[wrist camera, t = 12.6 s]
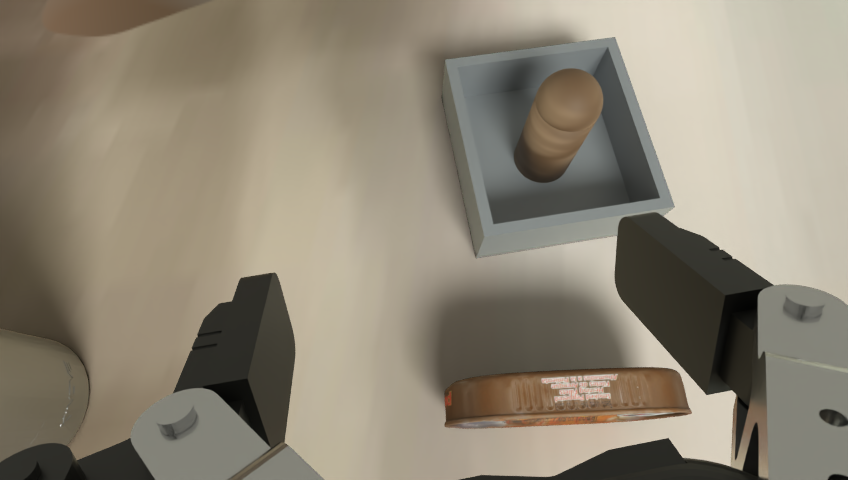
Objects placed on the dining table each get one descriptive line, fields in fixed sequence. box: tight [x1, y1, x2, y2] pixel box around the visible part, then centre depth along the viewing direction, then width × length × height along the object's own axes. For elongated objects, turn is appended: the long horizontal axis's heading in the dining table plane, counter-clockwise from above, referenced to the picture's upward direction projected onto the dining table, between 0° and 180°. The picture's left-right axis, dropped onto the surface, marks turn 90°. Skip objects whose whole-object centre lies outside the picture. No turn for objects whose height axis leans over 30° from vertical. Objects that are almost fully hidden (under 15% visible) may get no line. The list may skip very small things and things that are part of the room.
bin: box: [442, 37, 675, 258], centre depth 40 cm, size 14×15×5 cm
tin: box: [445, 367, 692, 429], centre depth 33 cm, size 15×3×8 cm, turn 92°
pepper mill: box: [514, 68, 603, 183], centre depth 37 cm, size 4×4×10 cm
